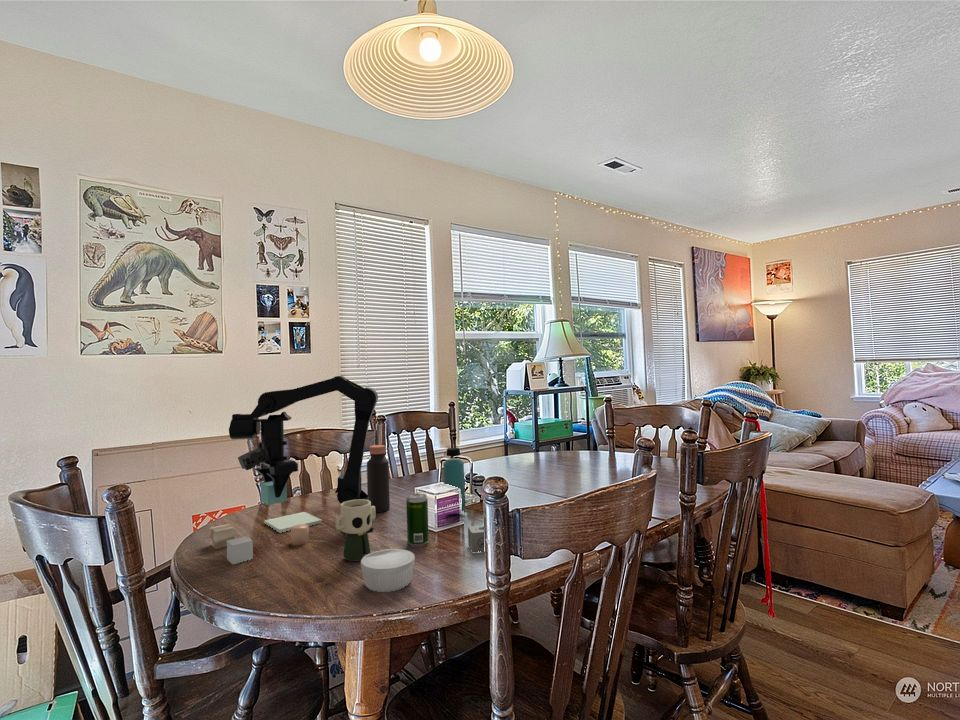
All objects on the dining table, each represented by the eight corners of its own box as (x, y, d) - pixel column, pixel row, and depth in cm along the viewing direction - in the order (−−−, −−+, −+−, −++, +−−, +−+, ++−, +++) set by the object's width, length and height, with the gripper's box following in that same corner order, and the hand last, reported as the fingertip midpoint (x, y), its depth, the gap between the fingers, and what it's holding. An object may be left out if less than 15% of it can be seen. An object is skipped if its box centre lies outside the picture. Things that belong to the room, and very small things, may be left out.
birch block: (234, 545, 131) (234, 527, 131) (215, 549, 128) (215, 531, 128) (229, 540, 134) (229, 523, 134) (210, 545, 131) (210, 527, 131)
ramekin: (394, 568, 113) (393, 544, 113) (426, 582, 105) (426, 556, 105) (350, 584, 105) (349, 559, 105) (382, 601, 97) (381, 573, 97)
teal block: (286, 501, 137) (286, 482, 137) (268, 505, 133) (267, 486, 133) (279, 497, 140) (279, 479, 140) (261, 501, 137) (260, 483, 137)
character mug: (345, 569, 113) (344, 511, 113) (328, 561, 117) (326, 505, 118) (385, 555, 121) (383, 500, 121) (367, 548, 126) (366, 495, 126)
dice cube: (492, 552, 121) (492, 531, 121) (472, 554, 120) (472, 533, 120) (488, 544, 126) (487, 524, 126) (468, 546, 125) (467, 526, 125)
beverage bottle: (456, 519, 147) (454, 450, 148) (439, 515, 151) (437, 448, 152) (470, 513, 153) (468, 447, 153) (453, 510, 157) (452, 445, 157)
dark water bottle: (365, 508, 161) (364, 445, 161) (386, 505, 164) (385, 443, 164) (370, 513, 155) (369, 448, 155) (392, 510, 158) (390, 446, 158)
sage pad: (321, 523, 147) (321, 519, 147) (280, 533, 139) (279, 529, 139) (304, 514, 156) (304, 511, 156) (264, 523, 148) (264, 520, 148)
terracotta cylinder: (311, 542, 131) (311, 526, 131) (294, 546, 128) (294, 530, 128) (304, 538, 134) (304, 523, 134) (288, 542, 131) (287, 527, 132)
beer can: (430, 545, 127) (429, 497, 127) (409, 548, 125) (408, 499, 125) (425, 538, 132) (424, 492, 132) (405, 541, 130) (404, 494, 130)
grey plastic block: (252, 559, 120) (252, 540, 120) (232, 564, 117) (232, 545, 117) (246, 554, 124) (246, 536, 124) (227, 559, 121) (226, 540, 121)
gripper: (229, 438, 138) (230, 495, 138) (254, 444, 125) (255, 508, 124) (270, 433, 146) (272, 488, 146) (298, 439, 132) (299, 499, 132)
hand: (273, 495), depth 137 cm, fingers closed on teal block, 5 cm apart
